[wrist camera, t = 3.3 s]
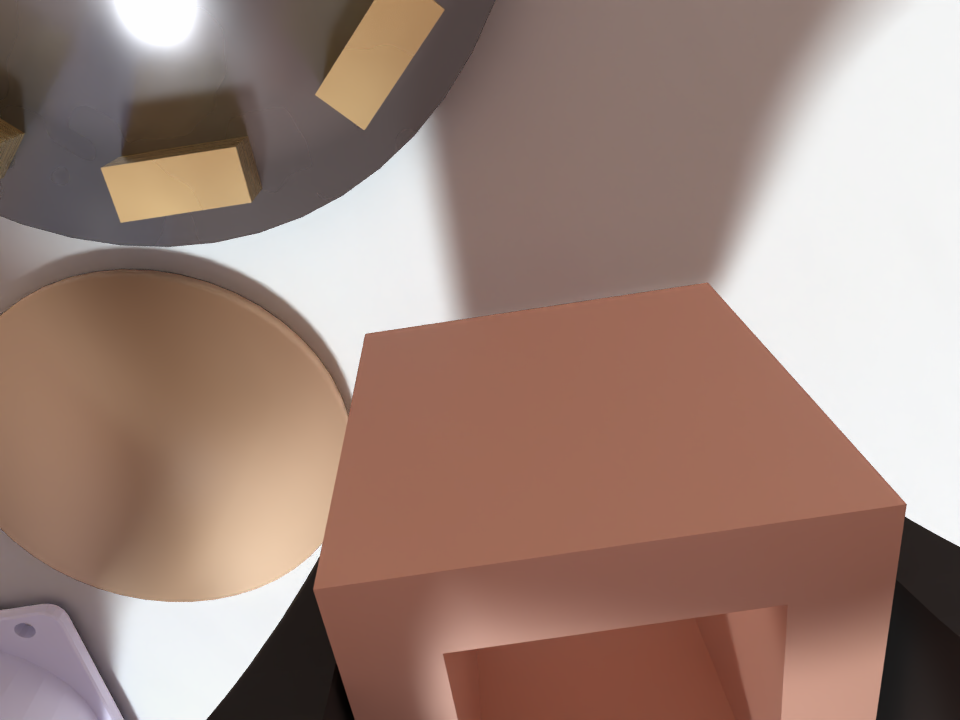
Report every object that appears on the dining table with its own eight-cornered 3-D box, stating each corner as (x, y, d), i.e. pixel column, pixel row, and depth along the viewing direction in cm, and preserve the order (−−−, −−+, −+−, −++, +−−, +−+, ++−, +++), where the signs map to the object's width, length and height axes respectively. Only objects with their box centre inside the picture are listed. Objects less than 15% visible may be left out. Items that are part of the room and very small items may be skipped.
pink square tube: (424, 590, 15) (417, 917, 10) (365, 334, 13) (312, 589, 7) (708, 549, 15) (856, 857, 10) (707, 282, 13) (907, 504, 7)
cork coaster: (54, 610, 20) (45, 624, 20) (-113, 303, 16) (-128, 312, 16) (385, 560, 20) (384, 573, 20) (302, 239, 16) (299, 246, 16)
